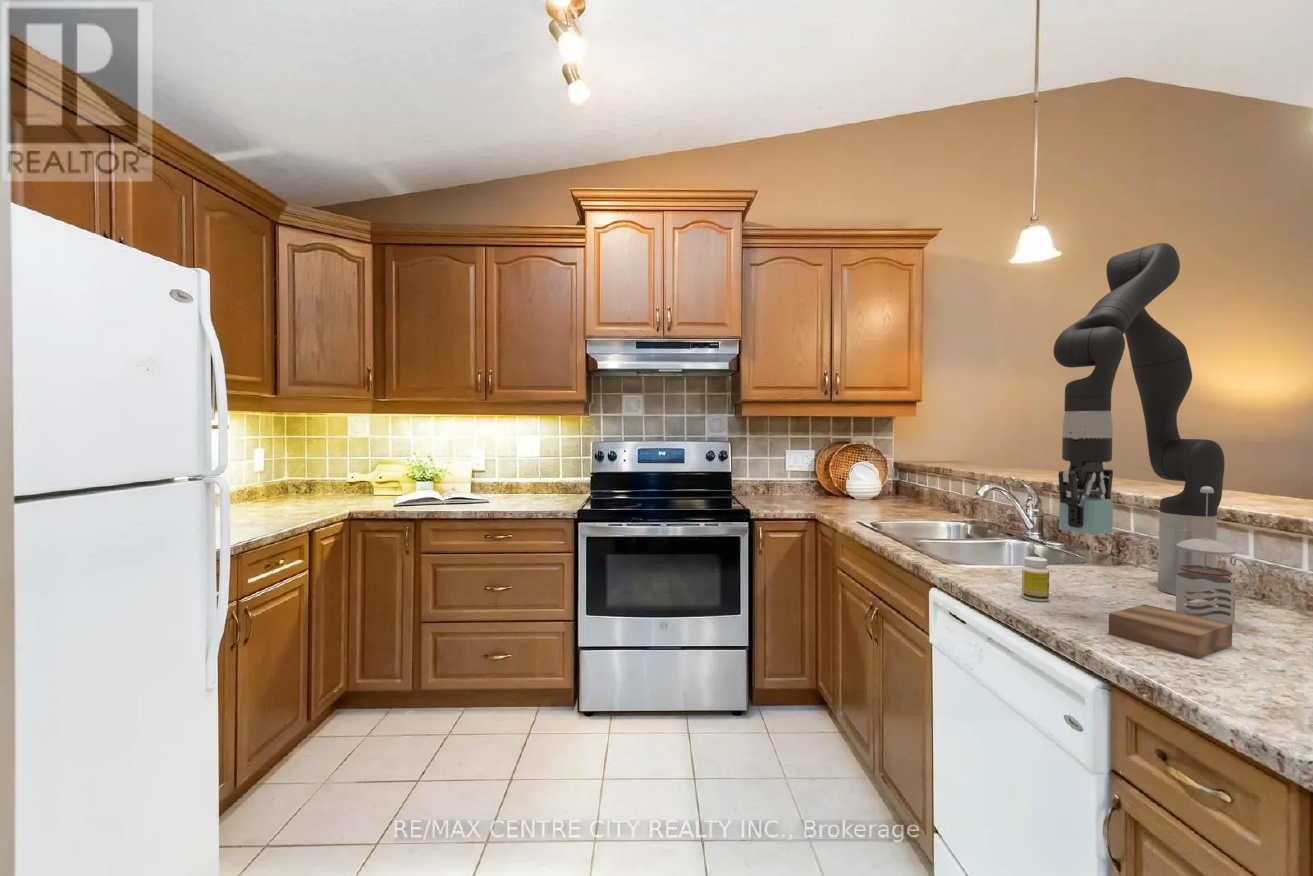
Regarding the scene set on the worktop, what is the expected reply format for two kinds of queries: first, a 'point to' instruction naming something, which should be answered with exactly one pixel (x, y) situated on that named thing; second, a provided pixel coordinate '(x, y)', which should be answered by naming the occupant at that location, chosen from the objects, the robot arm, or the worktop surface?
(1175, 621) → the walnut block
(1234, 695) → the worktop surface
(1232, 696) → the worktop surface
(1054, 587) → the worktop surface
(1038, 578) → the supplement bottle
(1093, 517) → the teal cube
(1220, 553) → the french press
